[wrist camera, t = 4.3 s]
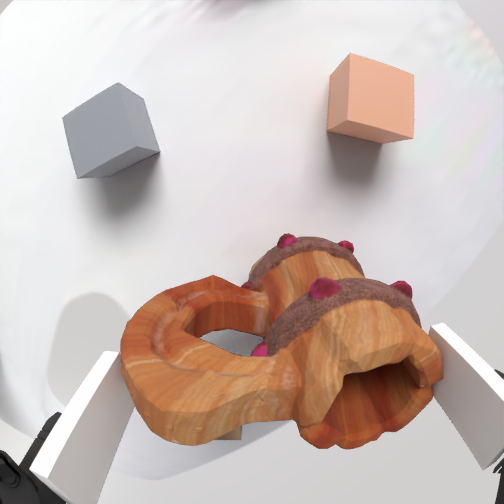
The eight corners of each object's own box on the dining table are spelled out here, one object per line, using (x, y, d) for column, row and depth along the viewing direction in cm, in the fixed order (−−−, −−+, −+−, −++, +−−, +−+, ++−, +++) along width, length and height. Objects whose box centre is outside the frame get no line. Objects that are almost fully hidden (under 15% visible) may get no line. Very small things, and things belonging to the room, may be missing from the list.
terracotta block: (326, 131, 20) (346, 119, 15) (330, 75, 18) (349, 53, 14) (381, 144, 20) (413, 138, 15) (384, 90, 19) (413, 74, 14)
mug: (362, 234, 21) (506, 318, 7) (341, 324, 23) (424, 455, 9) (176, 214, 20) (59, 297, 6) (173, 312, 22) (114, 466, 8)
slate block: (109, 176, 21) (77, 178, 16) (94, 125, 19) (62, 117, 14) (160, 151, 20) (136, 146, 15) (143, 99, 19) (118, 82, 14)
